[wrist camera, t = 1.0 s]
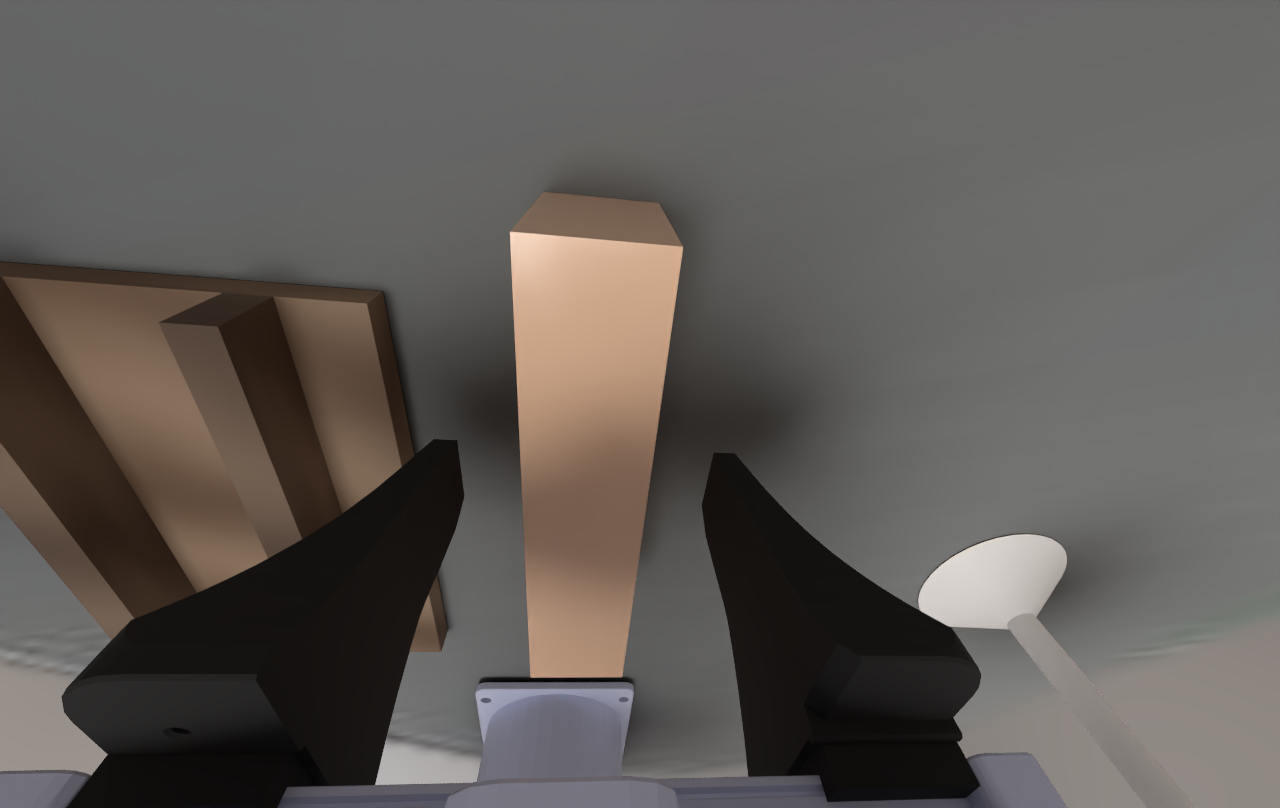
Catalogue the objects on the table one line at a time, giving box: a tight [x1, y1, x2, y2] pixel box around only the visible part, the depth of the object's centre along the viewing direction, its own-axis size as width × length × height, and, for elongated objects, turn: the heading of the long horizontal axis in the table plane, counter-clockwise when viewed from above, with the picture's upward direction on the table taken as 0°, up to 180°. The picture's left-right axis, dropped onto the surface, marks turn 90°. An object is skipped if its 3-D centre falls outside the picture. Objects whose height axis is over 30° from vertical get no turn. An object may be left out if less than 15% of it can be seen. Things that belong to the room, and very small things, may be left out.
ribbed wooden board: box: [0, 262, 448, 652], centre depth 15 cm, size 16×12×3 cm
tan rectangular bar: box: [510, 192, 683, 678], centre depth 14 cm, size 14×3×5 cm, turn 174°
